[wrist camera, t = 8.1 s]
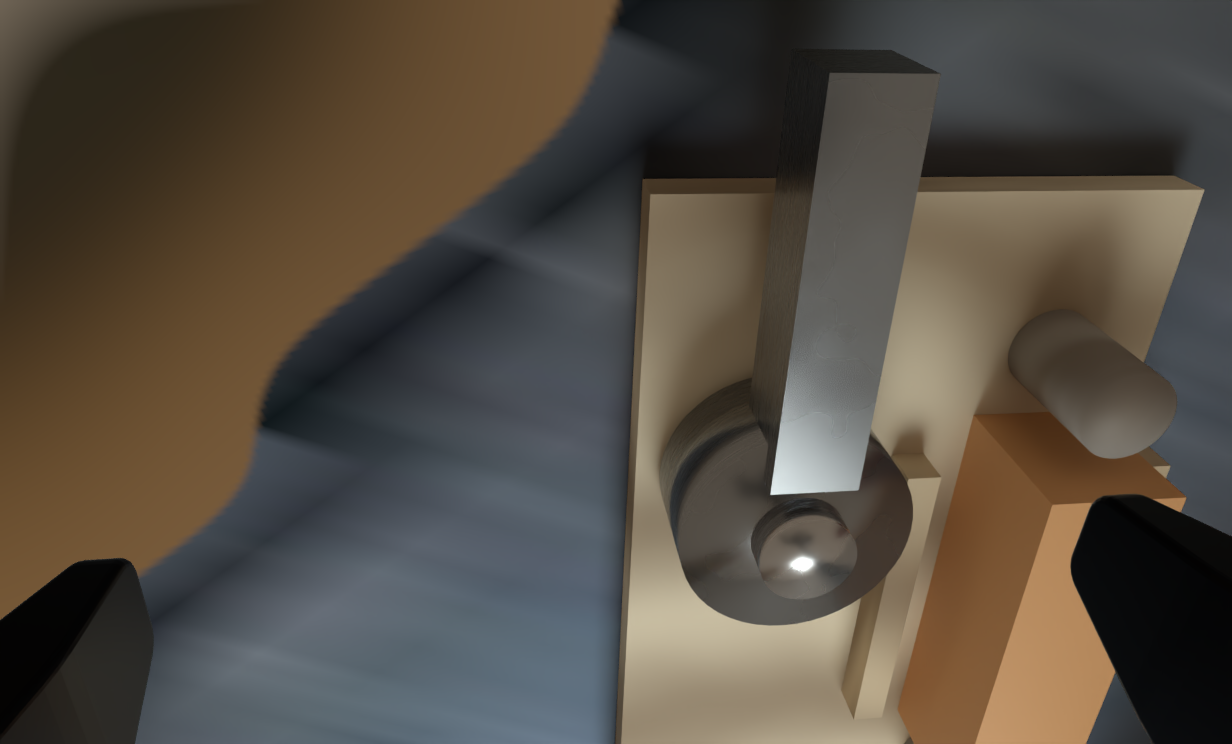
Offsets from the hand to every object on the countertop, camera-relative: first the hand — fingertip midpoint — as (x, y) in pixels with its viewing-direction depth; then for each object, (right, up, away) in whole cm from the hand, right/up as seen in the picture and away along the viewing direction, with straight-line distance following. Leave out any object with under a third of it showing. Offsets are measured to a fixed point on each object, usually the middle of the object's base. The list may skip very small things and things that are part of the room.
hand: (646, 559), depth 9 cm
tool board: (+6, -2, +16) cm, 17 cm away
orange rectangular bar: (+9, -4, +16) cm, 19 cm away
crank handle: (+3, +3, +11) cm, 12 cm away
